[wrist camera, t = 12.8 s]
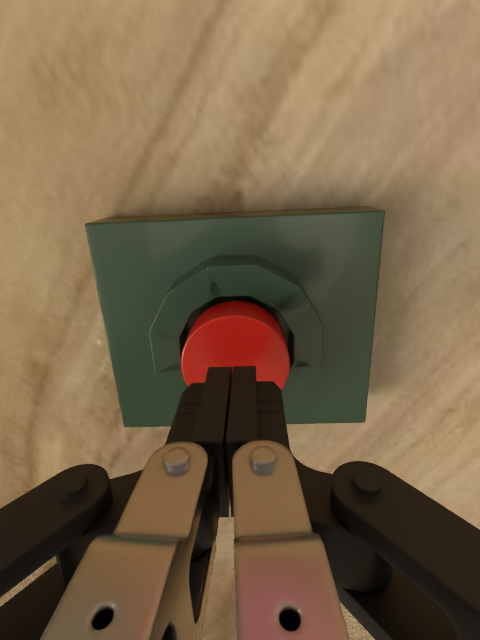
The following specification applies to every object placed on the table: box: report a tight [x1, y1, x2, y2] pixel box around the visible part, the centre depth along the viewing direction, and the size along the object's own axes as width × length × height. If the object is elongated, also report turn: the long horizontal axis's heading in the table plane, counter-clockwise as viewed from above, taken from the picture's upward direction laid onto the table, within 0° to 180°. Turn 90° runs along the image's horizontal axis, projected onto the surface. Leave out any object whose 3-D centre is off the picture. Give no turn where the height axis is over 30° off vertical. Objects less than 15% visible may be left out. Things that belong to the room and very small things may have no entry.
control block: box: [85, 206, 385, 427], centre depth 16 cm, size 12×10×4 cm
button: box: [181, 300, 290, 390], centre depth 14 cm, size 4×4×2 cm
